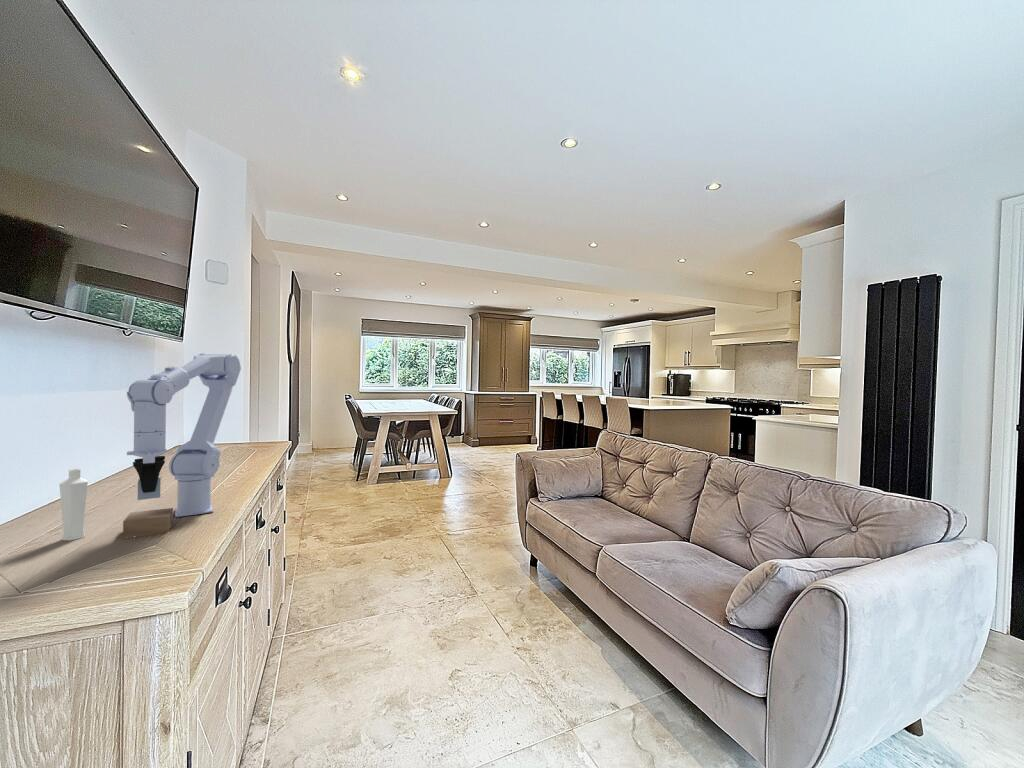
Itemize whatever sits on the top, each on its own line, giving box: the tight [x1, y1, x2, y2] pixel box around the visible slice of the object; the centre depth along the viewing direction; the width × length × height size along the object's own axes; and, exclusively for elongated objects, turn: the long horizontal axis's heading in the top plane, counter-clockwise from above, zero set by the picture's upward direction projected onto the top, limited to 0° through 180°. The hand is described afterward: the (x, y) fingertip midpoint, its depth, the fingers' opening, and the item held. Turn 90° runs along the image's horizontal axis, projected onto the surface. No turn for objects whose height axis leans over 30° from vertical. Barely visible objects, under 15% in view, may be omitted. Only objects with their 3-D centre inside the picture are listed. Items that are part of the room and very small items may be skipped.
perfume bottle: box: [59, 468, 89, 541], centre depth 98 cm, size 5×4×15 cm
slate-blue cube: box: [137, 476, 162, 501], centre depth 103 cm, size 4×4×4 cm
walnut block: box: [122, 507, 174, 539], centre depth 103 cm, size 8×8×4 cm
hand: (149, 490), depth 103 cm, fingers closed on slate-blue cube, 4 cm apart
